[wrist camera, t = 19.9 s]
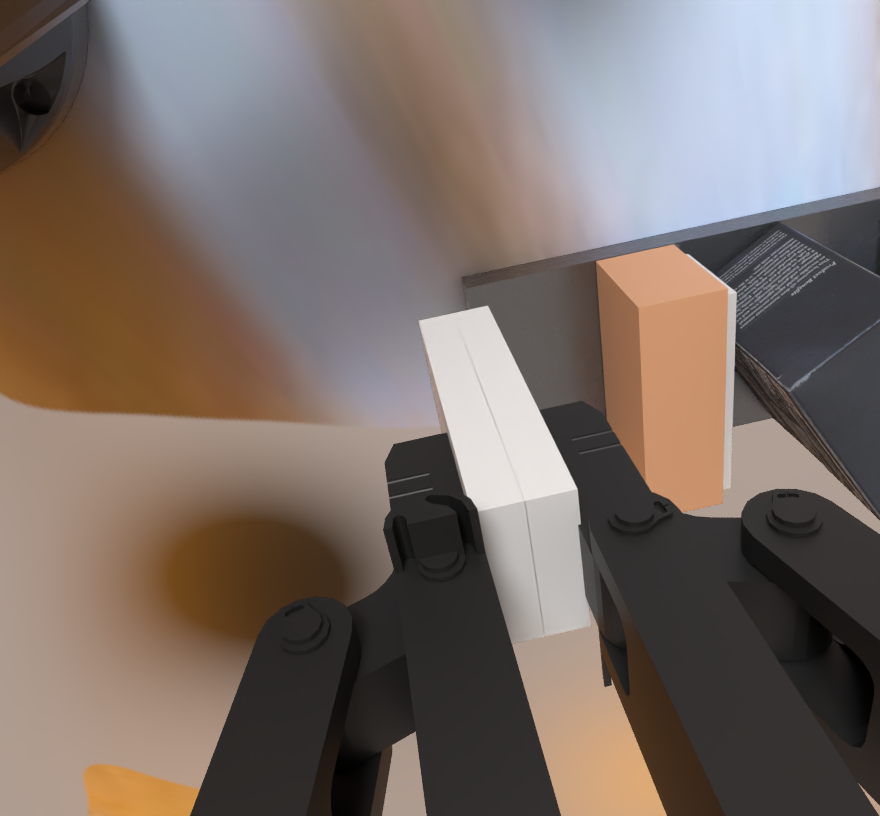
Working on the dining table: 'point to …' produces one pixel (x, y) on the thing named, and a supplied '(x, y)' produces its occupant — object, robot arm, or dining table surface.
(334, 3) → the dining table surface
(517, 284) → the vise
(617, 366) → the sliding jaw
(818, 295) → the small box
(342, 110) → the dining table surface
